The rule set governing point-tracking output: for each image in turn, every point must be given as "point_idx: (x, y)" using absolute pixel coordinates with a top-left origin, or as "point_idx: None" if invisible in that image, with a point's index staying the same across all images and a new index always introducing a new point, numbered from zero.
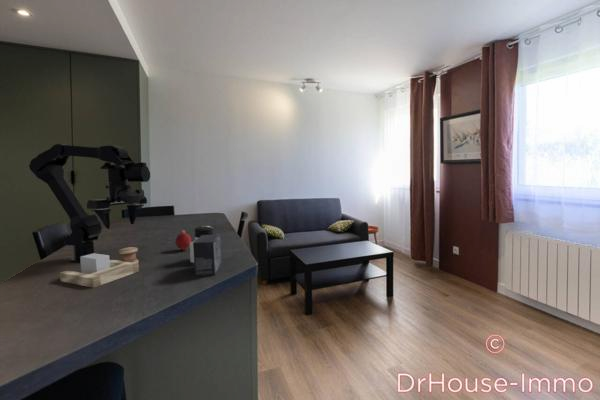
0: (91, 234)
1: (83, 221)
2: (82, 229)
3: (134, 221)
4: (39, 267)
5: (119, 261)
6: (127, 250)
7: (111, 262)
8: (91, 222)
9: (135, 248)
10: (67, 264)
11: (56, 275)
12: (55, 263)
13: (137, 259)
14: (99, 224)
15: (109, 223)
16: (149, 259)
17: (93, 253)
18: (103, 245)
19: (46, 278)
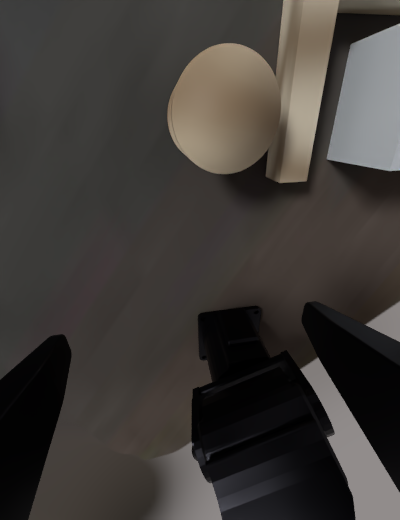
0: (269, 380)
1: (340, 472)
2: (324, 412)
3: (32, 352)
4: (313, 347)
5: (303, 70)
6: (251, 90)
7: (319, 105)
8: (281, 466)
9: (194, 83)
10: (278, 320)
11: (369, 241)
12: (278, 352)
13: (169, 105)
14: (212, 458)
15: (342, 326)
16: (108, 77)
17: (393, 167)
18: (97, 430)
19: (393, 238)
